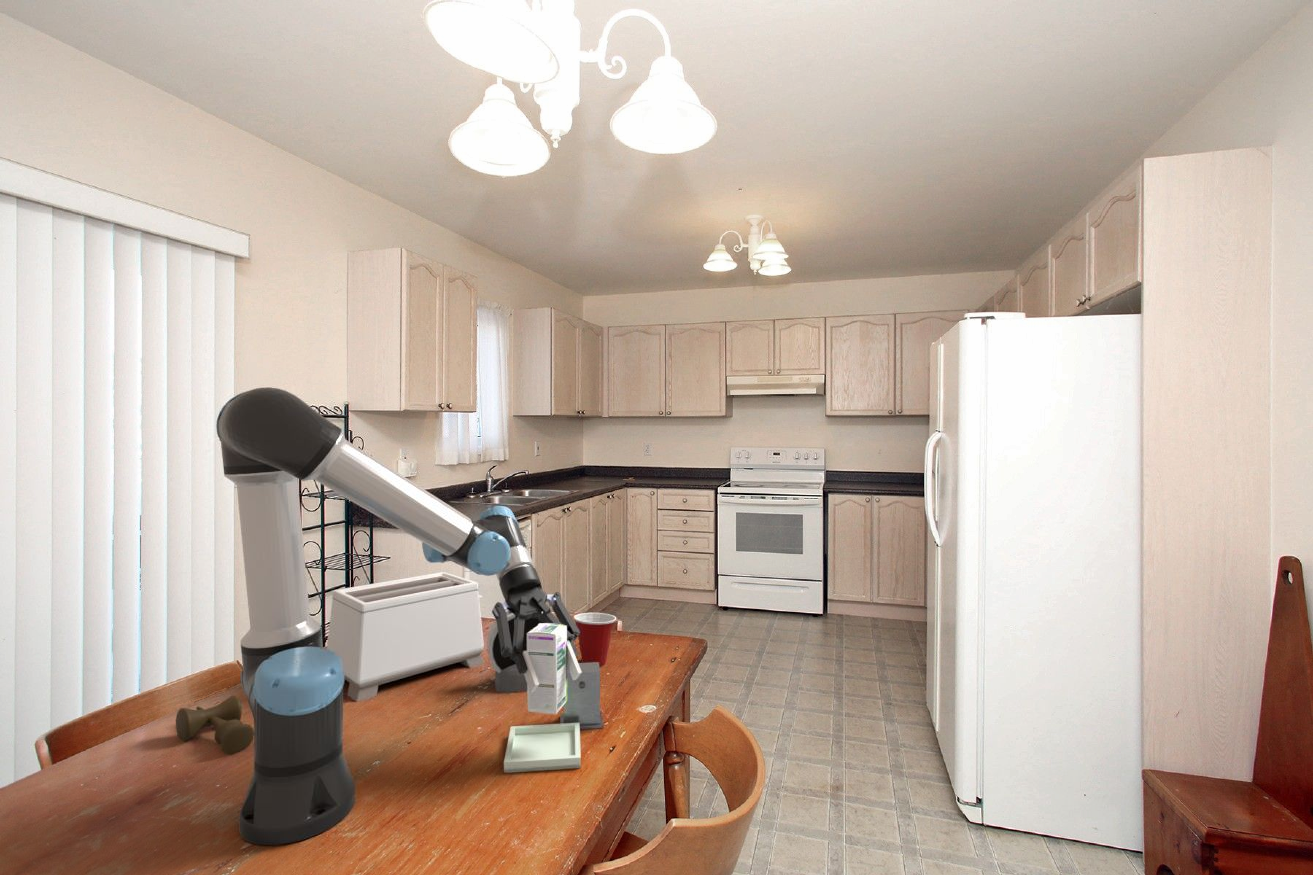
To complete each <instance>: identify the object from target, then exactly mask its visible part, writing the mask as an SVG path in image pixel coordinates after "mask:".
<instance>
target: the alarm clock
mask: <svg viewBox="0 0 1313 875" xmlns="http://www.w3.org/2000/svg"><path fill="white" fill-rule="evenodd" d="M542 613H543V612H542ZM506 614H507V619H508V625H509V632H510V638H511V644H512V647H513V637H514V626H515V625H514V619H515V615H514V614H513V613H511V612H510V611H509V610H508V609H507V612H506ZM539 623H543V622H541V621H539V620H538V619H537V618H529V619H527V620H525V624H524V637H523V649H522V653H523V651H527V633H528V632H529V631H531V630H532V629H533V628H535V627H536V626H538V624H539ZM486 638H487V640H486V646H487V654H488V659H489V661H490V663H491V666H492V668H493V669H494V670H495V675H494V686H495V691H496V692H497V691H498V692H497V693H519V692H518V691H523V692H527V681H526V678H525V676H524V673H523V674H520V673H519V672H518V669H517V666H516V663H515V661H513V660H511V657H508V656H507V657H506V658H504V657H502V655H501V648H500V642H499V635H498V628H497V621H496V619H495V620H494V621H493V623H492V625H491V626H490V628H489V630H488V634H487V637H486Z"/></svg>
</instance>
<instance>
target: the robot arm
mask: <svg viewBox="0 0 1313 875" xmlns="http://www.w3.org/2000/svg"><path fill="white" fill-rule="evenodd" d="M215 427H216V434H217V437H218V438H219V441H220V448H221V457H222V458H221V459H222V466H223V476H224V477H225V478H226V479H228V480H230V481H231V482H233V483H234V484H235V486H236V491H237V492H236V493H237V503H238V512H239V523H240V532H241V544H242V553H243V554H242V555H243V565H244V566H243V567H244V575H245V576H244V577H245V587H246V596H247V608H248V616H249V627H250V628H249V630H248V631H247V632H246V633H245V635H243V637H242V638H241V639H240V650H241V651H240V653H241V662H242V666H241V673H240V682H241V688H242V690H243V694H245V696H246V699H247V702H248V704H249V707H250V711H251V715H252V717H253V730H254V737H253V761H254V762H253V765H254V766H253V773H252V776H251V778H250V779H251V780H250V783H249V785H248V788H247V791H246V793H245V797H244V800H243V803H242V804H241V805H242V806H241V807H240V811H239V816H238V817H239V819H238V820H239V825H238V826H239V829H238V830H239V835H240V836H241V837H242V839H243V840H245V841H247V842H249V843H251V844H255V845H260V846H278V845H279V846H280V845H284V844H285V845H286V844H291V843H296V842H298V841H303V840H306V839H308V838H311V837H315V836H317V835H319V834H322V833H323V832H326V831H327V830H328V829H330V828H333V827H334V826H336V825H337V824H338V823H340V821H343V819H345V818H346V817H347V815H348V814H350V812H351V811H352V809H353V807H354V806H355V802H356V800H355V799H356V794H355V793H356V791H355V790H356V786H355V782H354V779H353V776H352V773H351V771H350V768H349V766H348V763H347V761H346V758H345V755H344V752H343V751H344V750H343V747H344V746H343V745H344V744H343V740H344V739H343V738H344V736H343V732H344V730H343V729H344V727H343V726H344V685H345V680H344V677H345V676H344V671H343V664H342V660H341V658H340V657H339V655H338V654H336V653H335V652H334V651H332V650H329V649H327V648H324V646H323V645H324V644H323V634H322V625H321V623H320V622H319V621H318V620H316V619H314V618H312V617H311V616H310V604H309V591H308V581H307V579H308V578H307V570H306V569H307V568H306V559H305V549H304V539H303V536H304V535H303V526H302V515H301V502H300V494H299V493H300V492H299V481H302V482H307V481H311V480H314V481H315V482H318V483H319V484H321V485H323V487H325V488H328V489H330V490H331V491H333V492H335V493H336V494H338V495H340V496H342V497H344V498H345V499H347V500H348V501H351V502H352V503H354V504H356V505H357V506H359V507H360V508H363V509H365V510H366V511H368V512H369V513H370V514H373V515H374V516H376V517H378V518H380V519H381V520H383V521H386V522H387V523H389V524H391V525H393V526H394V527H395V528H397V529H399V530H400V531H403V532H405V533H406V534H408V535H409V536H412V537H413V538H415V539H417V540H419V542H421V546H422V553H423V555H424V558H425V560H426V561H427V562H428V563H430V564H431V563H432V564H433V563H440V564H443V563H446V562H452V563H454V564H456V565H459V566H461V567H464V568H466V569H468V570H470V571H471V572H473V573H475V574H477V575H480V576H481V575H482V576H487V577H489V576H494V575H496V576H495V577H496V579H497V581H498V584H499V588H500V591H501V594H502V596H503V599H504V602H502V603H501V601H500V602H499V601H497V602H496V603H495V605H494V606H493V609H491V614H492V615H493V617H494V619H495V620H496V621H497V628H498V635H499V642H500V648H501V655H502V657H504V658H506V657H507V656H508V657H511V660H513V661H515V663H516V666H517V669H518V672H519V673H520V674H523V673H524V676H525V678H526V681H527V684H528V687H529V690H530V693H531V692H534V691H535V690H536V688H537V687H538V685H539V682H538V679H537V676H536V673H535V671H534V668H533V665H532V662H531V659H530V656H529V654H528V651H523V653H522V649H523V637H524V624H525V620H527V619H529V618H537V619H538V620H539V621H541V622H543V623H555V624H562V625H566V626H567V666H568V669H569V672H570V674H571V677H572V679H573V680H576V679H577V678H578V677H579V675H580V674H581V673H582V671H581V669H580V666H579V664H578V663H579V661H578V657H579V652H578V650H577V647H576V644H575V641H576V640H577V638H578V635H579V634H580V631H579V629H578V628H577V626H576V622H575V620H574V618H572V616H571V615H570V612H569V611H568V609H567V607H566V606H565V604H564V602H563V599H562V595H561V592H560V591H555V592H554V594H547V592H545V590H544V589H543V586H542V582H541V579H540V577H539V575H538V572H537V569H536V568H535V564H534V561H533V558H532V557H531V554H530V552H529V550H528V548H527V545H526V544H527V543H526V542H525V541H526V540H525V538H524V536H523V533H522V531H521V528H520V524H519V522H518V520H517V518H516V517H515V514H514V512H513V511H512V509H511V508H509V507H507V506H505V505H495V506H493V507H491V508H487V509H485V510H484V511H482V513H480V515H479V516H478V518H477V520H473V519H471V518H470V517H468V516H467V515H466V514H464V513H462V512H460V511H459V510H458V509H456V508H454V507H452V506H451V505H450V504H448V503H446V502H445V501H443V500H442V499H440V498H439V497H437V496H436V495H434V494H432V493H430V492H429V491H427V490H426V489H424V488H423V487H421V486H420V485H418V484H416V483H415V482H413V481H412V480H410V479H409V478H407V477H405V476H404V475H402V474H401V473H399V472H397V471H396V470H395V469H393V468H391V467H389V466H388V465H386V464H385V463H383V461H380V460H379V459H377V458H375V457H374V456H372V455H370V454H369V453H367V452H365V450H363V449H361V448H359V447H358V446H356V445H354V444H353V443H352V442H350V441H349V440H347V439H346V437H345V433H344V430H343V429H342V428H341V427H340V426H337V425H336V424H334V423H333V422H332V421H330V420H328V419H327V418H326V417H324V416H323V415H322V414H320V413H319V412H317V411H316V410H315V409H314V408H312V407H311V406H310V405H308V404H307V403H306V402H305V401H304V400H302V399H301V398H299V397H298V396H297V395H295V394H293V393H292V392H290V391H287V390H285V389H281V388H278V387H277V388H276V387H256V388H253V389H250V390H247V391H244V392H241V393H238V394H236V395H234V396H233V397H232V398H231V399H229V400H228V401H226V403H225V404H224V405H223V406H222V407H221V410H220V411H219V414H218V416H217V419H216V426H215ZM298 480H299V481H298ZM547 603H548V604H549V606H548V604H547ZM550 607H551V608H552V609H551V608H550ZM507 610H509V611H510V612H511V613H513V614H514V615H515V619H514V625H515V626H514V637H513V647H512V644H511V638H510V632H509V625H508V619H507V614H506V612H507ZM552 611H553V613H552ZM542 612H543V613H542ZM554 614H555V615H554Z"/></svg>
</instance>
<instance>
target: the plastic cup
mask: <svg viewBox="0 0 1313 875" xmlns="http://www.w3.org/2000/svg"><path fill="white" fill-rule="evenodd" d="M573 621H574V623H575V624H576V626H577V628H578V629H579V631H580V634H579V635H578V637H577V638H578V643H579V646H578V647H579V651H580V656H581V663H592V662H599V667H600V668H601V667H603V666H605V665H606V662H607V657H608V652H609V647H610V643H611V635H612V631H613V628H614V624H615V622H616V621H617V617H616V616H615V615H613V614H609V613H604V612H584V613H578V614H575V615H573Z"/></svg>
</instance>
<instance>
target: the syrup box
mask: <svg viewBox="0 0 1313 875" xmlns="http://www.w3.org/2000/svg"><path fill="white" fill-rule="evenodd" d="M527 651H528V654H529V656H530V659H531V662H532V665H533V668H534V671H535V673H536V676H537V679H538V682H539V685H538V687H537V688H536V690H535V691H534V692H531V693H530V690H529V687H528V684H527V691H526V697H527V698H526V699H527V700H526V702H527V704H526V706H527V711H528V712H531V713H537V714H547V715H557V714H558V712H559V711H560V710H561V709H562V708H564V704H565V703H566V702H567V700H568V698H567V626H566V625H562V624H555V623H539V624H538V626H536V627H535V628H533V629H532V630H531V631H529V632H528V633H527Z"/></svg>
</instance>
